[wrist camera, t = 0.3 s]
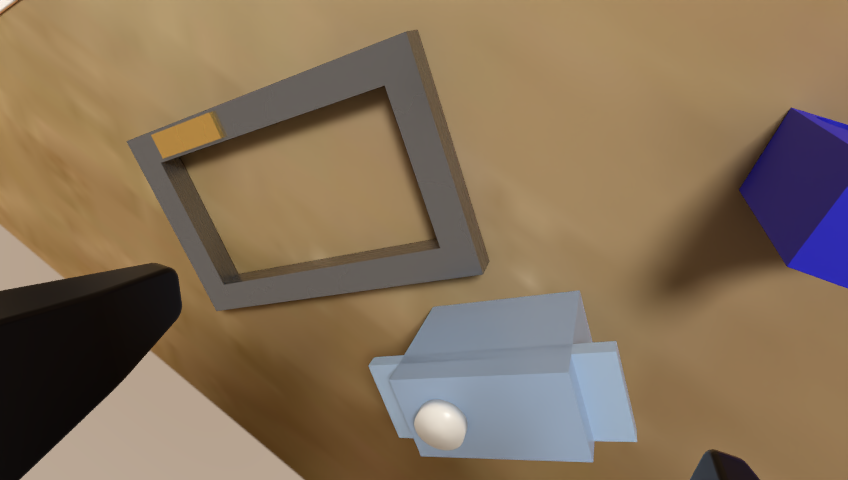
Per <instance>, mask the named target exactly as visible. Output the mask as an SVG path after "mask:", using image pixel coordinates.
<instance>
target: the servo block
mask: <svg viewBox="0 0 848 480" xmlns="http://www.w3.org/2000/svg"><path fill="white" fill-rule="evenodd" d="M369 369H370V371H371V373H372V376H373V378H374V380H375V383H376V385H377V387H378V390H379V392H380V394H381V396H382V399H383V401H384V403H385V406H386V408H387V410H388V413H389V415H390V417H391V420H392V422H393V424H394V427H395V429H396V431H397V434H398V436H399V438H414V440H415V443H416V445H417V448H418V450H419V452H420V455H421V456H426V457H455V458H483V459H512V460H541V461H570V462H593V457H594V441H617V442H637V429H636V425H635V420H634V416H633V412H632V407H631V403H630V399H629V394H628V390H627V385H626V381H625V377H624V372H623V368H622V364H621V359H620V355H619V351H618V346H617V342H616V341H610V342H595V343H593V342H592V338H591V334H590V330H589V326H588V322H587V318H586V314H585V310H584V306H583V302H582V298H581V294H580V291H571V292H563V293H554V294H545V295H536V296H527V297H518V298H509V299H500V300H491V301H482V302H473V303H465V304H456V305H447V306H438V307H433V308H432V310H431V311H430V313H429V315H428V316H427V318H426V320H425V321H424V323H423V325H422V326H421V328H420V330H419V331H418V333H417V335H416V336H415V338H414V340H413V341H412V343H411V345H410V346H409V348H408V350H407V351H406V353H405V355H400V356H385V357H374V358H373V360H372V361H371V363H370V364H369Z"/></svg>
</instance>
